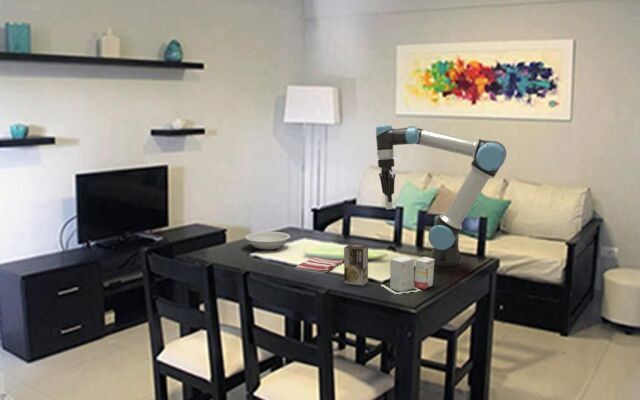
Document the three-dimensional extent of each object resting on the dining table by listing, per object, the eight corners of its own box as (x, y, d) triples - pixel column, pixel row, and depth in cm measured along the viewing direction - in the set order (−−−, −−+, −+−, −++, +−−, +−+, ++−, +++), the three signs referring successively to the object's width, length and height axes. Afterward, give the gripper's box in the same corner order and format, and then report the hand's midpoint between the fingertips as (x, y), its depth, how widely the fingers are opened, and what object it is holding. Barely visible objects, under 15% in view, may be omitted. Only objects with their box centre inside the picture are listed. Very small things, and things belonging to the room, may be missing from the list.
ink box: (424, 289, 256) (425, 261, 255) (413, 287, 259) (415, 259, 258) (433, 285, 263) (435, 258, 262) (422, 283, 266) (424, 256, 264)
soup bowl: (288, 254, 317) (288, 241, 316) (242, 253, 318) (241, 241, 316) (291, 243, 341) (291, 231, 340) (248, 243, 341) (248, 231, 340)
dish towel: (346, 262, 303) (346, 257, 302) (326, 274, 282) (326, 269, 281) (315, 258, 310) (315, 253, 309) (293, 270, 289) (293, 264, 288)
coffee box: (368, 282, 268) (368, 245, 266) (363, 286, 263) (363, 249, 260) (349, 279, 272) (349, 243, 270) (343, 283, 266) (343, 247, 264)
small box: (403, 285, 264) (403, 255, 262) (414, 288, 259) (414, 258, 257) (389, 289, 259) (390, 258, 256) (400, 292, 254) (401, 261, 252)
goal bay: (406, 282, 267) (406, 281, 267) (421, 291, 255) (421, 290, 255) (380, 285, 263) (380, 284, 263) (395, 294, 251) (395, 293, 251)
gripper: (372, 159, 292) (376, 208, 295) (384, 159, 280) (388, 211, 282) (387, 157, 295) (390, 206, 297) (399, 158, 282) (402, 209, 285)
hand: (389, 208), depth 290 cm, fingers closed
